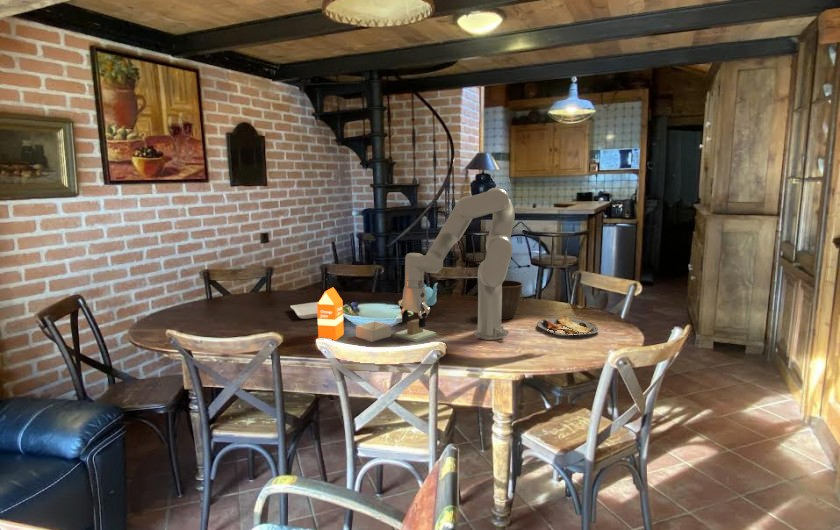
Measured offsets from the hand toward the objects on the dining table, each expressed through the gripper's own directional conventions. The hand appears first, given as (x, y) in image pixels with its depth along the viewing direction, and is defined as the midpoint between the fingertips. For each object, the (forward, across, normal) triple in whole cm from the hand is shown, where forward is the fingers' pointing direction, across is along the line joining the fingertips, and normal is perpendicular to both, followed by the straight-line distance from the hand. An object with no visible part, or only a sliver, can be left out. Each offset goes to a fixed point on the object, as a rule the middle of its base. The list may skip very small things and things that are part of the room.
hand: (413, 324), depth 213 cm
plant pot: (+4, -11, -50) cm, 51 cm away
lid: (+4, -1, -1) cm, 4 cm away
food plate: (+4, -42, -51) cm, 66 cm away
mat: (+5, -1, -1) cm, 5 cm away
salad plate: (+7, +60, +6) cm, 61 cm away
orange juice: (+6, +24, +23) cm, 34 cm away
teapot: (+5, +33, -42) cm, 54 cm away
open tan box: (+5, +10, +12) cm, 17 cm away
